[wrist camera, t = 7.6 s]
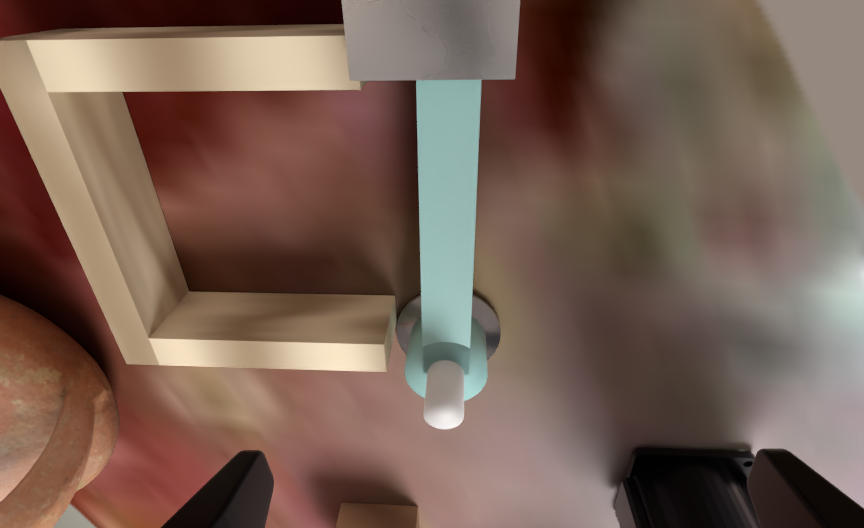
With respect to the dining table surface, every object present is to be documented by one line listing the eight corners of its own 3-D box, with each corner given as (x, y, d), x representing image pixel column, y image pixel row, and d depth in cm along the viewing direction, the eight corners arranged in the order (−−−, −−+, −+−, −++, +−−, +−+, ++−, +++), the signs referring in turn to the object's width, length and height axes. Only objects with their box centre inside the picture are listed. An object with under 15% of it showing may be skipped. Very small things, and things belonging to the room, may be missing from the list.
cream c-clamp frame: (375, 23, 17) (355, 35, 14) (396, 320, 24) (386, 372, 21) (61, 28, 18) (-22, 40, 15) (168, 315, 24) (126, 363, 21)
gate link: (484, 369, 24) (487, 447, 20) (411, 366, 24) (400, 443, 20) (509, -30, 15) (523, -28, 11) (395, -28, 16) (370, -27, 12)
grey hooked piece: (531, -150, 14) (556, -197, 10) (497, 370, 25) (503, 449, 21) (363, -143, 15) (322, -187, 11) (400, 367, 25) (386, 444, 21)
